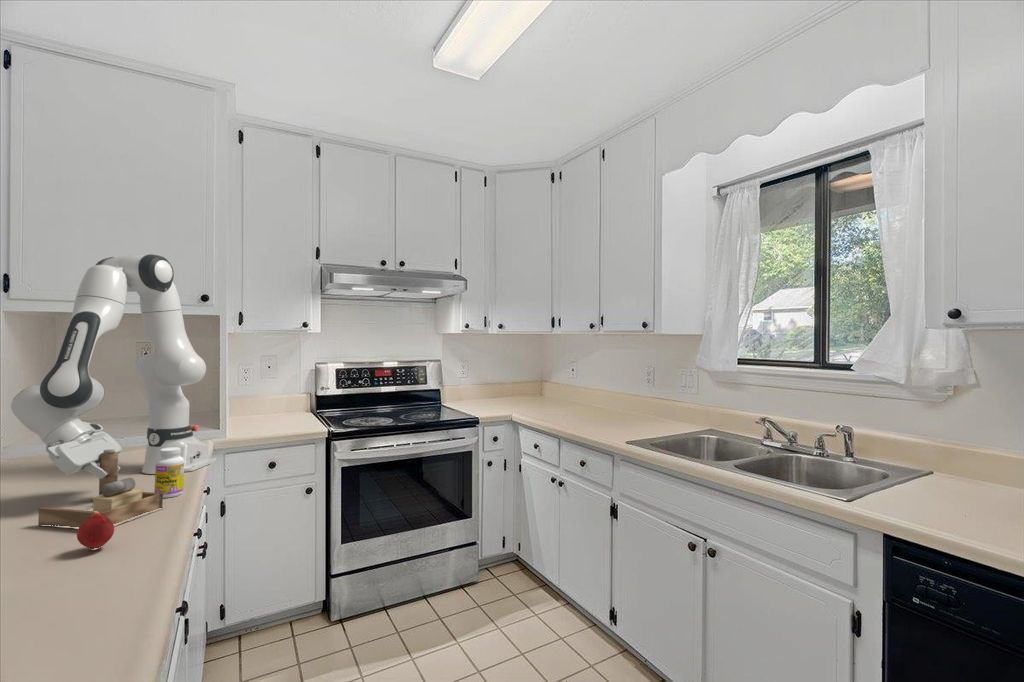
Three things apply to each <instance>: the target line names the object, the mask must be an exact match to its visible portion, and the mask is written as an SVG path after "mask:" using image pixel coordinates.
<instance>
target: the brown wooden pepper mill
mask: <svg viewBox="0 0 1024 682" xmlns="http://www.w3.org/2000/svg"><path fill="white" fill-rule="evenodd" d="M118 466H119V454H118V452H115V450H114V449H111V450H104V453H101V454H100V463H99V467H100V468H101V469H106V470H107V471H108V472H109V474H108V475H107V476H106V477H104V478H102V479H100V478H99V477H98V479H99V482H98V483H99V484H98V488H99V489H98V496H99V495H102V491H101V489H102V487H103V485H105V484H108V483H112V482H116V481H119V480H118V477H119V476H118V474H119V473H118V472H119V471H118Z"/></svg>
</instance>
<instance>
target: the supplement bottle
mask: <svg viewBox="0 0 1024 682" xmlns="http://www.w3.org/2000/svg"><path fill="white" fill-rule="evenodd" d="M180 452H181V448H179V447H170V448H163V449H161V450H160V454H161V458H159V459H158V460H157V461H156V465H155V474H154V491H153V493H163V499H169V498H174V497H177V496H180V495H182V494H183V492H184V482H185V481H184V480H185V472H184V459H183V458H182V457H180V456H179V454H180Z"/></svg>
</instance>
